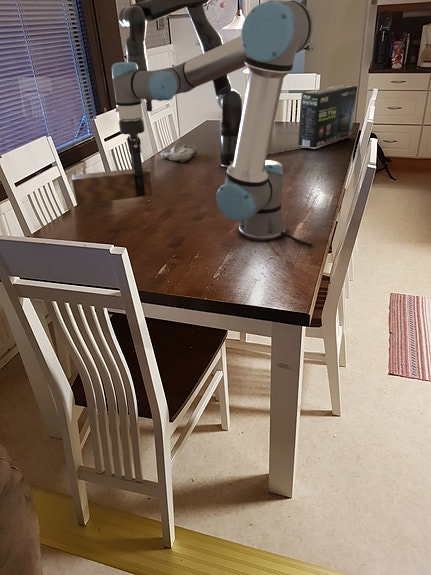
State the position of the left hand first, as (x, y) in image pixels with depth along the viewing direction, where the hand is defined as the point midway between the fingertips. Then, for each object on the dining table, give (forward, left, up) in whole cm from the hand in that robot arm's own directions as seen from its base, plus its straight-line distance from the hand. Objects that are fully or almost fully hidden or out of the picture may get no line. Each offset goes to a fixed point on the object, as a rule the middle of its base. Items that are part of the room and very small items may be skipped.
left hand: (142, 113), depth 181 cm
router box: (-104, +14, -29) cm, 108 cm away
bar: (+35, +32, -18) cm, 50 cm away
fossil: (-33, -23, -29) cm, 50 cm away
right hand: (+28, +36, -17) cm, 48 cm away
